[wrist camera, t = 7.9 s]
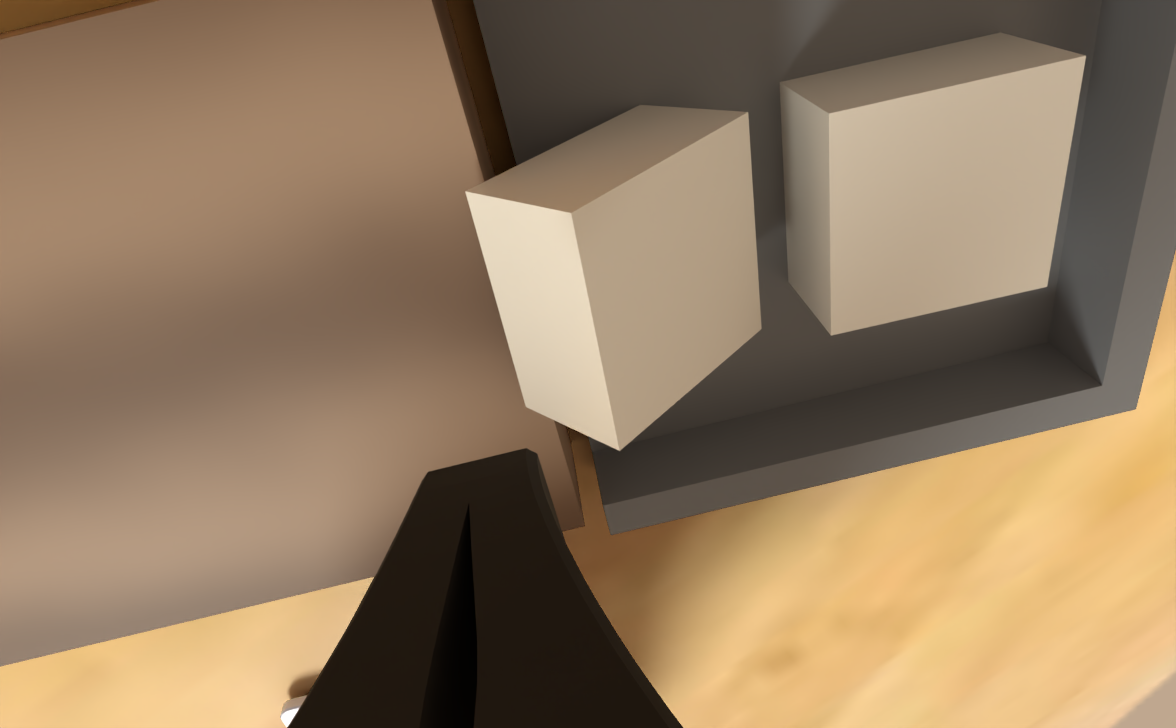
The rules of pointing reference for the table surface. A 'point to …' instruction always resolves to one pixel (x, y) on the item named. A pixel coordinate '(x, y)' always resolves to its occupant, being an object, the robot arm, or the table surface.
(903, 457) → the box
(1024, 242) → the rear tile
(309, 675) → the table surface
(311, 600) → the table surface
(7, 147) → the walnut plate
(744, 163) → the front tile
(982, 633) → the table surface
